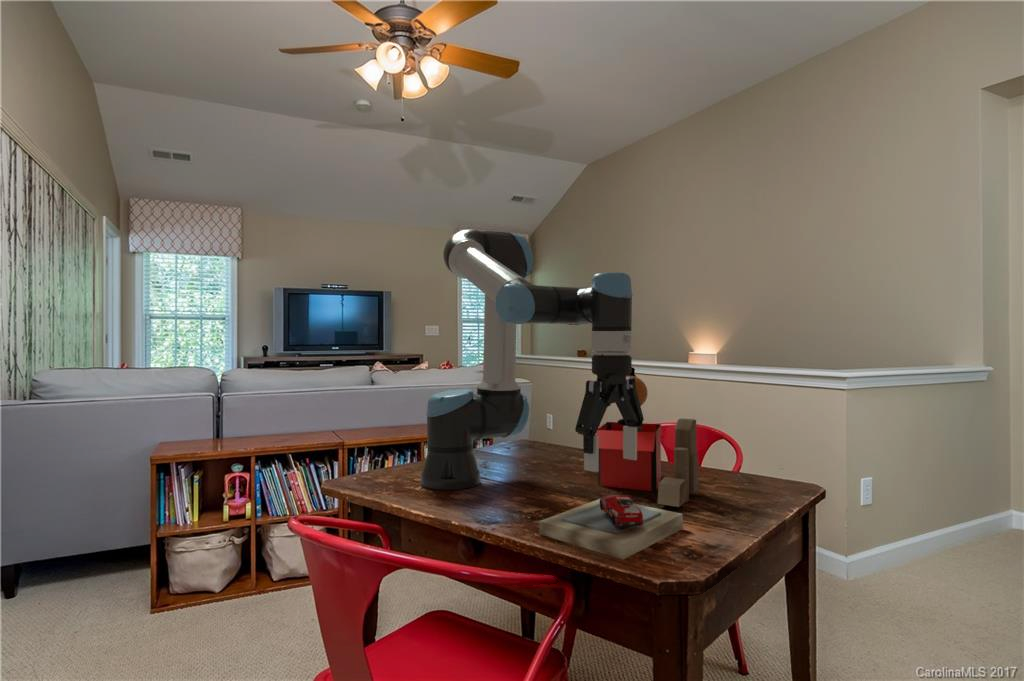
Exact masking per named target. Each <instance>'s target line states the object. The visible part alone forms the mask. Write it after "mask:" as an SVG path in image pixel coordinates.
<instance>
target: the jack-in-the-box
mask: <svg viewBox="0 0 1024 681" xmlns="http://www.w3.org/2000/svg"><path fill="white" fill-rule="evenodd" d="M635 370H636V369H635V367H632V372H631V374H629V375H626V377H631V378H635V384H636V391H637V395H638V399H639V403H640V406H641V407H642V406H643V405H644V404H645V403H646V400H647V398H648V394H649V393H648V388H647V385H646V383H645V382H644V381H643V380H642V379H641V378H639V377H637V375H636V374H635ZM636 416H637V414H636ZM642 423H643V422H642ZM623 426H628V425H626V423H625V421H624V419H623V418H619V419H618V420H617V422H616V421H606V422H605V423H604V424H602V425H601V426H599V427H598V430H597V432H596V434H595V435H596V436H599V472H597V485H598V486H600V487H609V488H616V487H617V489H618V488H619V489H620V488H621V489H629V490H638V491H649V492H650V491H651V492H653V491H654V492H655V491H658V486H659V482H660V481H661V480H662V462H661V461H662V460H661V459H662V453H661V452H662V451H661V450H662V447H661V446H662V444H661V443H662V441H661V440H662V437H661V436H662V435H664V434H663V427H662V424H661V423H643V424H642V427H639V426H637V460H630V459H624V458H623Z"/></svg>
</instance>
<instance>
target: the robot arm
mask: <svg viewBox="0 0 1024 681" xmlns="http://www.w3.org/2000/svg"><path fill="white" fill-rule="evenodd" d="M442 256H443V262H444V263H445V266H446V267H447V269H448V270H449V271H450V272H451V273H452V274H453V275H454V276H456V277H457V278H459V279H463V280H467V281H468V282H470V283H471V284H472V285H473V286H475V287H476V288H477V289H479V291H481V292H482V293H483V294H484V314H483V315H484V316H483V366H482V367H483V368H482V380H481V382H480V383H479V384H478V385H476V394H474V391H473V390H472V389H469V388H467V389H464V388H463V389H462V388H461V389H451V390H445V391H441V392H436V393H434V394H432V395H431V396H429V398H428V399H427V409H426V421H427V423H426V428H427V429H426V430H427V431H426V432H427V433H426V436H427V439H426V442H427V452H426V456H425V459H424V464H423V467H422V471H421V472H420V485H421V486H422V487H424V488H426V489H431V490H437V491H438V490H439V491H452V490H453V491H454V490H455V491H456V490H464V489H469V488H473V487H476V486H478V485H480V483H481V473H480V471H479V467H478V462H477V460H476V457H475V454H474V440H483V439H493V438H495V439H496V438H507V437H511V436H517V435H519V434H521V432H522V431H523V430H524V429H525V427H526V426H527V423H528V421H529V416H530V415H529V414H530V405H529V402H528V397H527V396H526V394H525V393H523V392H521V388H522V387H521V386H520V384H519V383H517V381H516V363H517V362H516V359H517V325H523V324H553V325H554V324H556V325H557V324H559V325H569V326H573V325H574V326H578V325H588V324H591V351H592V352H593V353H594V354H593V355H592V356H591V372H592V373H591V374H594V375H596V380H587V381H586V382H585V392H584V397H583V399H582V403H581V407H580V409H579V415H578V418H577V421H576V425H575V427H574V428H575V432H576V433H577V434H578V435H582V437H583V439H582V444H583V445H582V446H583V448H582V451H583V470H584V471H589V472H593V473H598V472H599V436H596V432H597V430H598V428H600V425H601V422H602V420H603V418H604V415H605V413H606V412H607V409H608V407H610V406H611V405H612V404H615V405H616V407H617V409H618V411H619V413H620V415H621V417H622V419H624V421H625V423H626V425H628V426H623V458H624V459H630V460H637V426H639V427H642V424H643V422H644V420H645V419H644V415H643V410H642V406H640V403H639V399H638V395H637V391H636V384H635V378H631V377H626V375H629V374H631V372H632V366H633V364H632V362H633V361H632V360H633V359H632V356H631V355H630V354H629V353H630V352H632V341H633V337H632V322H633V321H632V315H633V314H632V312H633V311H632V309H633V308H632V307H633V304H632V302H633V299H632V298H633V293H632V292H633V290H632V278H631V276H630V275H629V274H628V273H624V272H619V271H618V272H617V271H616V272H614V271H613V272H598V273H595V274H594V275H593V276H592V277H591V284H590V286H585V287H583V286H582V287H575V286H574V287H572V286H556V285H555V286H554V285H553V286H552V285H537V284H533V283H531V282H530V281H528V280H527V279H526V278H528V277H529V275H530V274H531V270H532V269H533V262H534V257H533V251H532V248H531V244H530V243H529V241H528V240H527V238H526V237H524V236H523V235H521V234H516V233H512V232H509V231H495V230H482V229H473V228H471V229H463V230H460V231H458V232H457V233H454V234H453V235H451V237H450V238H448V240H447V241H446V243H445V245H444V249H443V254H442ZM636 414H637V416H636Z"/></svg>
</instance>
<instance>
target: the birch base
mask: <svg viewBox="0 0 1024 681" xmlns="http://www.w3.org/2000/svg"><path fill="white" fill-rule="evenodd" d="M600 499H601V498H598V499H596V500H592V501H591V502H587V503H585V504H582V505H579V506H577V507H573V508H572V509H571V508H570V509H569V510H566V511H564V512H561V513H557V514H555V515H553V516H549V517H547V518H544V519H541V520H539V522H538V525H539V529H538V530H539V532H538V533H539V535H540V536H545V537H548V538H550V539H554V540H557V539H558V541H561V542H565V543H567V544H570V545H574V546H578V547H581V548H583V549H587V550H590V551H594V552H597V553H600V554H603V555H606V556H609V557H613V558H616V559H619V560H625V559H627V558H629V557H631V556H633V555H634V554H637V553H639V552H640V551H642V550H644V549H646V548H649V547H651V546H652V545H654V544H656V543H658V542H660V541H663V540H664V539H665V538H668V537H670V536H672V535H674V534H675V533H678V532H679V531H681V530H683V529H684V528H683V526H684V525H683V524H684V523H683V522H684V520H683V519H684V517H683V513H681V512H674V511H670V510H666V509H661V508H657V507H651V506H646V505H643V504H637V503H635V504H636V505H637V506H638V508H639V509H640V510H641V512H642V515H643V525H640V526H638V525H637V526H627V527H625V526H618V525H614V524H613V522H612V520H611V519H610V518H609V517H608V516H607V514H606V513H605V512H604V511H603V510H601V508H600Z"/></svg>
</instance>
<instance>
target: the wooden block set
mask: <svg viewBox="0 0 1024 681" xmlns="http://www.w3.org/2000/svg"><path fill="white" fill-rule="evenodd" d="M697 491H699V453H698V452H697V420H696V419H694V418H679V419H677V421H676V423H675V428H674V449H673V477H670V476H665V477H663V478H661V480H660V482H659V485H658V488H657V504H658V505H662V506H663V505H664V506H669V507H677V508H679V507H681V506H682V505H684V504H685V503H686V504H687V503H688V502H689V500H690V496H689V495H694V494H695V493H697Z"/></svg>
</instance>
